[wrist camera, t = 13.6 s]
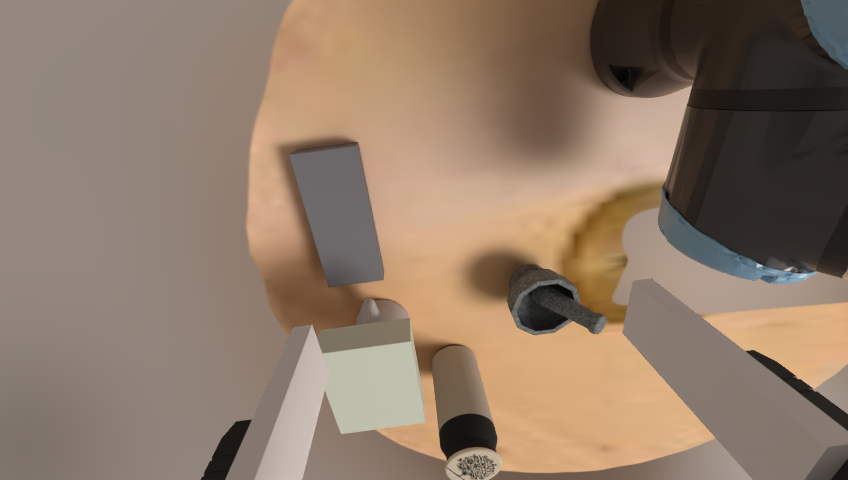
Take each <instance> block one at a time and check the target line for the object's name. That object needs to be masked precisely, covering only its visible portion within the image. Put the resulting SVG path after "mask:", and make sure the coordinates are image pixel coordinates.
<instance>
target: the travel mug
mask: <svg viewBox="0 0 848 480" xmlns="http://www.w3.org/2000/svg"><path fill="white" fill-rule="evenodd" d="M432 373H433V382H434V391H435V400H436V410H437V419H438V428H439V437H440V447H441V450H442V451H443V453H444V454H445V456H446V457H447V462H446V464H445V472H446V475H447V476H448V477H449V478H450V479H451V480H489V479H490V478H492V477H494V476H495V475H496V474H497V473H498V472H499V470H500V469H501V466H502V460H501V457H500V456H499V455H498V454H497V452H496V450H495V448H496V444H497V435H496V431H495V427H494V424H493V420H492V416H491V413H490V409H489V405H488V402H487V398H486V394H485V391H484V387H483V383H482V379H481V376H480V372H479V368H478V365H477V361H476V357H475V355H474V353H473V352H472V351H471V350H470V349H468V348H466V347H463V346H449V347H445V348H443V349H441V350H440V351H438V352H437V353H436V354H435V355H434V357H433V359H432Z"/></svg>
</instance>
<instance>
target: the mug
mask: <svg viewBox="0 0 848 480" xmlns="http://www.w3.org/2000/svg"><path fill="white" fill-rule="evenodd" d="M405 318H409V316H408V313H407V311H406V310H405V309H404V307H402V306H401V305H400V304H398V303H396V302H394V301H391V300H375V301H374V300H373V299H372V298H367V299H365V300H364V301H363V303H362V305H361V310H360V312H359V314H358V316H357V321H356V325H361V324H368V323H376V322H383V321H390V320H398V319H405Z"/></svg>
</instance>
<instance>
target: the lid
mask: <svg viewBox="0 0 848 480" xmlns="http://www.w3.org/2000/svg"><path fill="white" fill-rule="evenodd" d="M317 340H318V343H319V346H320V348H321V351H322V354H323V357H324V360H325V363H326V366H327V368H328V371H329V375H328V379H327V383H326V387H325V392H326V394H327V397H328V400H329V403H330V405H331V408H332V411H333V413H334V416H335V418H336V421H337V424H338V427H339V430H340V432H341V434H345V433H352V432H359V431H367V430H374V429H382V428H389V427H396V426H403V425H411V424H418V423H425V411H424V397H423V390H422V385H421V379H420V373H419V368H418V362H417V356H416V350H415V345H414V339H413V333H412V328H411V322H410V318H405V319H398V320H390V321H383V322H376V323H368V324H361V325H353V326H346V327H339V328H331V329H324V330H320V332H319V335H318V338H317Z"/></svg>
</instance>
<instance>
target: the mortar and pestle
mask: <svg viewBox="0 0 848 480" xmlns="http://www.w3.org/2000/svg"><path fill="white" fill-rule="evenodd" d="M510 287H511V291H510V293H509V296H508V299H507V302H508V306H509V309H510V312H511V314H512V316H513V319H514V321H515V323H516V325H517V328H519V329H521V330H523V331H526V332H528V333H530V334H532V335H540V334H547V333H555V332H556V331H558V330H559V329H561V328H562V327H564V326H565V325H567V324H568V323H570V322H572V321H574V322H576V323H578V324H580V325H582V326H584V327H586V328H588V330H589V332H591V333H593V334H598V333H600V332H601V331H602V330H603V328H604V327H605V324H606V316H604V315H602V314H600V313H595V312H593V311H591V310H590V309H588V308H586V307H585V306H583V305H581V303H580V299H579V295H578V292H577V288H576V287H575V286H574V285H573V283H572V282H570V281H569V280H568V279H567V278H565V277H563V276H561V275H559V274H557V273H556V272H554V271H552V270H549V269H543V268H541V267H539V266H537V265H529V266H523V267H522V268H520V269H519V270H518V271H516V272H515V273H513V276H512V278H511V281H510Z"/></svg>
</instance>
